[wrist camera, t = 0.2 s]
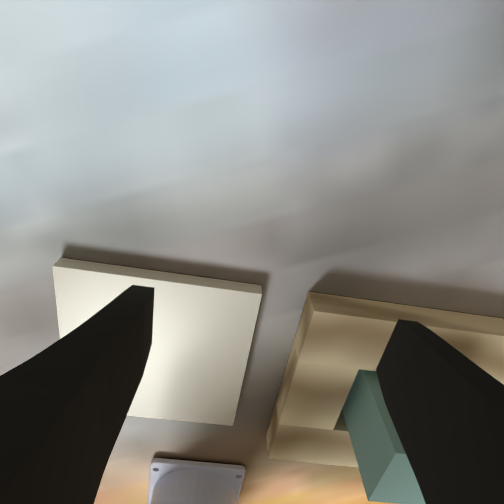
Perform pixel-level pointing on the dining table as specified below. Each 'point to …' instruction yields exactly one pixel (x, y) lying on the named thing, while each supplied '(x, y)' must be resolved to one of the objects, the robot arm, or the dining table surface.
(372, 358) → the pocket holder
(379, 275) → the dining table surface
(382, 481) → the teal block
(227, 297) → the cream plate
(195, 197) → the dining table surface
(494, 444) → the robot arm
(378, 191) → the dining table surface
